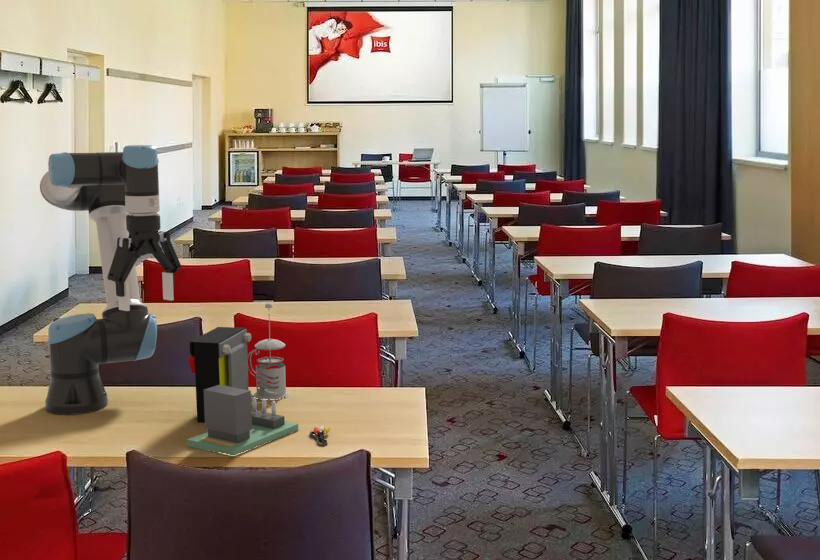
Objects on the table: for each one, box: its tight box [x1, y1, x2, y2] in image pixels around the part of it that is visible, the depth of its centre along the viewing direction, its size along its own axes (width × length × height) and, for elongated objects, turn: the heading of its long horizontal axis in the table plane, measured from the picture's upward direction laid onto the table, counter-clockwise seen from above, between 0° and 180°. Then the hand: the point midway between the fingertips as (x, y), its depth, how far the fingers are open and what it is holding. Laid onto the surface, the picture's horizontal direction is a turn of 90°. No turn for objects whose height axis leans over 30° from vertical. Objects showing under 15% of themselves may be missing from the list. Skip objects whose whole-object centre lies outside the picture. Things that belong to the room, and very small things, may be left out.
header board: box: [186, 397, 299, 455], centre depth 219 cm, size 14×22×8 cm, turn 147°
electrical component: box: [186, 326, 254, 424], centre depth 237 cm, size 18×10×20 cm, turn 168°
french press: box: [247, 302, 290, 400], centre depth 252 cm, size 10×12×25 cm
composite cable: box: [308, 424, 331, 447], centre depth 218 cm, size 10×5×2 cm, turn 2°
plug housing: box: [204, 385, 252, 435], centre depth 214 cm, size 10×5×9 cm, turn 57°
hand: (147, 305), depth 221 cm, fingers open, 13 cm apart
